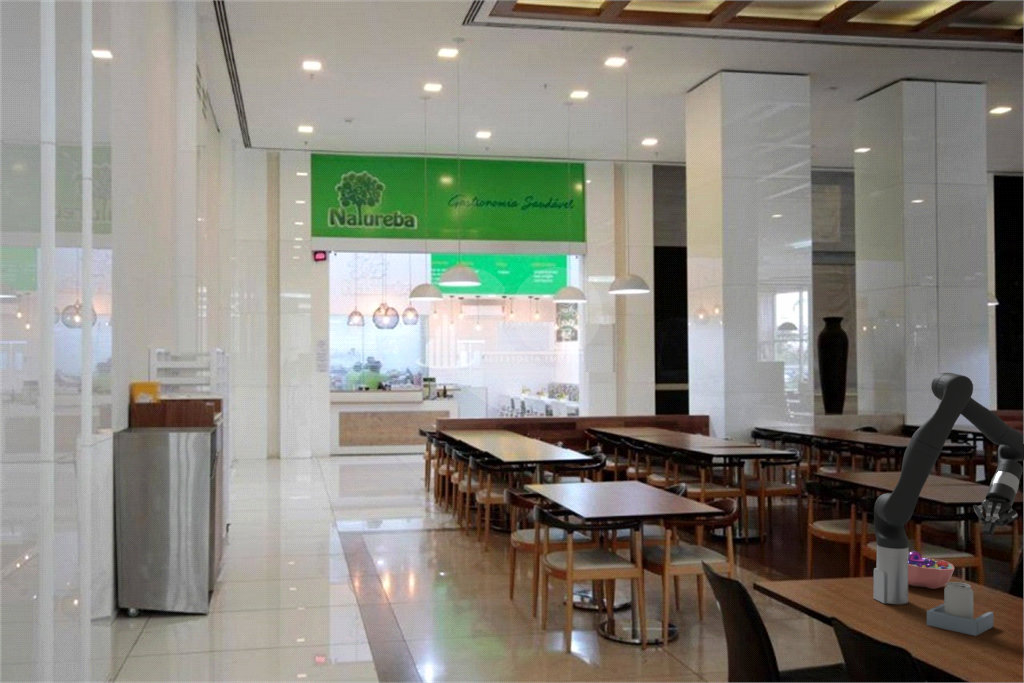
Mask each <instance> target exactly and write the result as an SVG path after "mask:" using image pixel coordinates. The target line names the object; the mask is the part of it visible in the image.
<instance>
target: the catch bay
mask: <svg viewBox="0 0 1024 683" xmlns="http://www.w3.org/2000/svg"><path fill="white" fill-rule="evenodd" d="M926 626H929V627H934V628H938V629H943V630H947V631H952V632H955V633H956V632H957V633H961V634H965V635H966V634H967V635H970V636H974V637H977V636H979V635H981V634H983V633H984V632H987V631H988V630H990V629H992V628H994V612H992V611H987V612H985V613H984V614H981V615H979V616H977V617H976V618H973V619H968V618H963V617H959V616H954V615H949V614H944V603H941V604H939V605H937V606H934V607H932V608H930V609H928V610H926Z"/></svg>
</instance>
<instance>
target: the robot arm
mask: <svg viewBox="0 0 1024 683" xmlns="http://www.w3.org/2000/svg"><path fill="white" fill-rule="evenodd" d="M930 384H931V385H930V387H931V388H930V389H931V391H932V394H933V395H934V396H935V398H937V399H938V400H940V403H939V405H938V407H936V410H935V412H934V413H933V414H932V415H931V417H930V418H929V419H927V420H926V421H925V422H924V423H923V424H921V426H919V428H917V430H915V432H914V433H913V435H912V436H911V439H910V440H909V442H908V444H907V446H906V449H905V451H904V454H903V457H902V463H901V471H900V475H899V476H900V477H899V479H898V482H897V484H896V486H895V487H894V489H893V491H892V492H887V493H883V494H881V495H879V496H878V497H877V499H876V501H875V502H874V508H873V519H874V520H873V523H874V526H873V527H874V535H875V538H876V567H874V568H873V597H872V598H873V599H874V600H876V601H878V602H879V603H882V604H890V605H906V604H908V603H909V584H908V553H909V538H908V536H907V534H906V530H905V525H906V524H907V523H908V522H909V521H910V520H911V518H912V517H913V514H914V511H915V508H916V505H917V503H918V500H919V498H920V495H921V492H922V489H923V488H924V486H925V483H926V481H927V479H928V478H929V476H930V473H931V472H932V469H933V467H934V466H935V464H936V463H937V460H938V458H939V456H940V455H941V452H942V450H943V447H944V446H945V443H946V441H947V439H948V437H949V436H950V434H951V432H952V429H953V428H954V426H955V424H956V422H957V421H958V419H959V418H960V416H963V417H964V418H965V419H966V420H968V422H970V423H971V424H972V425H973V426H974V427H975V428H976V429H978V431H980V432H981V433H982V434H983V436H985V438H987V439H988V440H989V441H990V442H991V443H993V444H995V445H998V448H997V466H996V467H997V468H996V470H995V473H994V475H993V477H992V478H991V482H990V484H989V487H988V489H987V492H986V495H985V499H984V500H983V501H982V502H981V504H980V505H977V504H973V505H972V508H973V510H974V513H975V514H976V516H977V517H978V519H979V521H980V522H981V524H982V525H983V527H982V532H983V534H984V535H985V536H986V537H991V536H992V535H994V534H995V531H996V528H997V527H998V526H1000V527H1004V526H1006V525H1008V524H1010V523H1011V522H1013V521H1015V520H1016V519H1018V517H1019V515H1018V513H1017V510H1016V509H1013V507H1012V506H1013V504H1014V502H1015V498H1016V496H1017V494H1018V489H1019V485H1020V480H1021V478H1022V475H1023V472H1024V468H1023V466H1022V464H1021V463H1020V462H1021V461H1024V444H1023V435H1024V433H1021V432H1019V430H1018V431H1017V430H1016V429H1014V428H1012V427H1010V426H1009V425H1008V424H1007V423H1006V422H1005V421H1004V420H1002V419H1001V418H1000V416H999V415H997V414H996V413H994V412H993V411H992V410H990V409H989V408H987V407H985V406H984V405H983V404H980V403H979V402H978V401H976V400H975V399H974V398H973V397H972V396H973V392H974V383H973V382H972V380H971V379H970V378H969V376H966V375H962V374H958V373H954V372H953V373H952V372H942V373H941V372H940V373H938V374H937V375H936V376H934V377H933V379H932V381H931V383H930ZM983 510H984V513H985V516H984V515H983Z"/></svg>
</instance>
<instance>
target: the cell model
mask: <svg viewBox="0 0 1024 683" xmlns="http://www.w3.org/2000/svg"><path fill="white" fill-rule="evenodd" d="M954 571H955V566H954V564H952V563H951V562H948V561H946V560H943V559H937V558H931V557H924V556H922V555H921V553H920V552H918V551H917V550H912V551H910V552H909V551H908V586H913V587H919V588H926V589H927V588H928V589H932V590H936V589H940V588H942V587H945V586H947V583H949V582H950V580H951V578H952V575H953V573H954Z"/></svg>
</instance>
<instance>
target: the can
mask: <svg viewBox="0 0 1024 683" xmlns="http://www.w3.org/2000/svg"><path fill="white" fill-rule="evenodd" d="M943 592H944V596H943V597H944V598H943V600H944V601H943V602H944V603H943V604H944V614H949V615H954V616H959V617H963V618H968V619H974V590H973V589H972V585H970V584H968V583H965V582H957V581H954V582H953V581H948V583H947V584H946V585H945V586H944V591H943Z"/></svg>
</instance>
